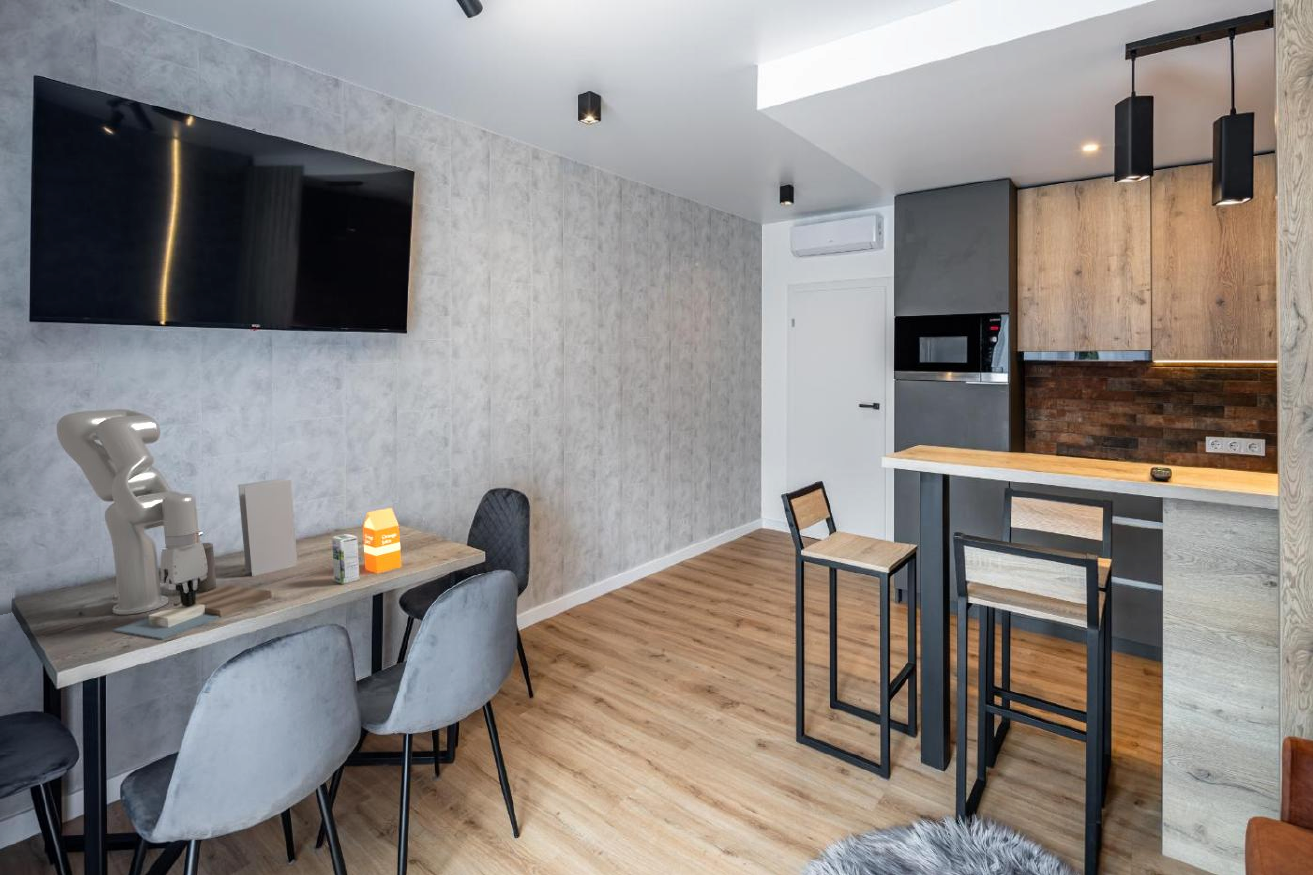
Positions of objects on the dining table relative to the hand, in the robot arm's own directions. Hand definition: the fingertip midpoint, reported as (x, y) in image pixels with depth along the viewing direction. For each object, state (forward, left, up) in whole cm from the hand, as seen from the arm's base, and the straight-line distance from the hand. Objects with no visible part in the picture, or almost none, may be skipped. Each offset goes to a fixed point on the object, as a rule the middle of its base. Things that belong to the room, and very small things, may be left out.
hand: (188, 604), depth 181 cm
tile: (0, -3, -3) cm, 4 cm away
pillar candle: (-20, +17, -4) cm, 26 cm away
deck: (0, +10, -3) cm, 11 cm away
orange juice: (+21, +51, -4) cm, 55 cm away
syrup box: (+19, +37, -4) cm, 42 cm away
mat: (0, -6, -3) cm, 7 cm away
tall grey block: (-15, +39, -4) cm, 42 cm away
